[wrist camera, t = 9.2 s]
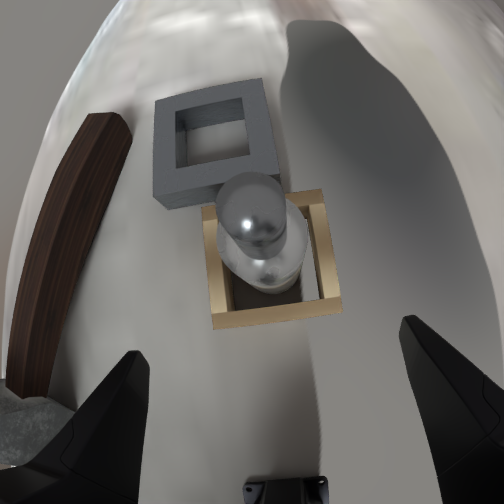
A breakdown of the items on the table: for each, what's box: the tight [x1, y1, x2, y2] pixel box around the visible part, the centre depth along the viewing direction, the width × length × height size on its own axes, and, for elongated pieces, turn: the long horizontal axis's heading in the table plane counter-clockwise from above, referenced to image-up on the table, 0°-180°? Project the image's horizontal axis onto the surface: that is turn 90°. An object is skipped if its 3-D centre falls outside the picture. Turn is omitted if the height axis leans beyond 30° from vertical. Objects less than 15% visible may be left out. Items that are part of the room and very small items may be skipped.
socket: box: [153, 78, 281, 210], centre depth 23 cm, size 9×9×3 cm
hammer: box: [0, 112, 132, 466], centre depth 20 cm, size 5×11×30 cm
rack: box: [201, 189, 343, 330], centre depth 21 cm, size 8×8×3 cm
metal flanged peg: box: [215, 172, 308, 294], centre depth 16 cm, size 4×4×13 cm
